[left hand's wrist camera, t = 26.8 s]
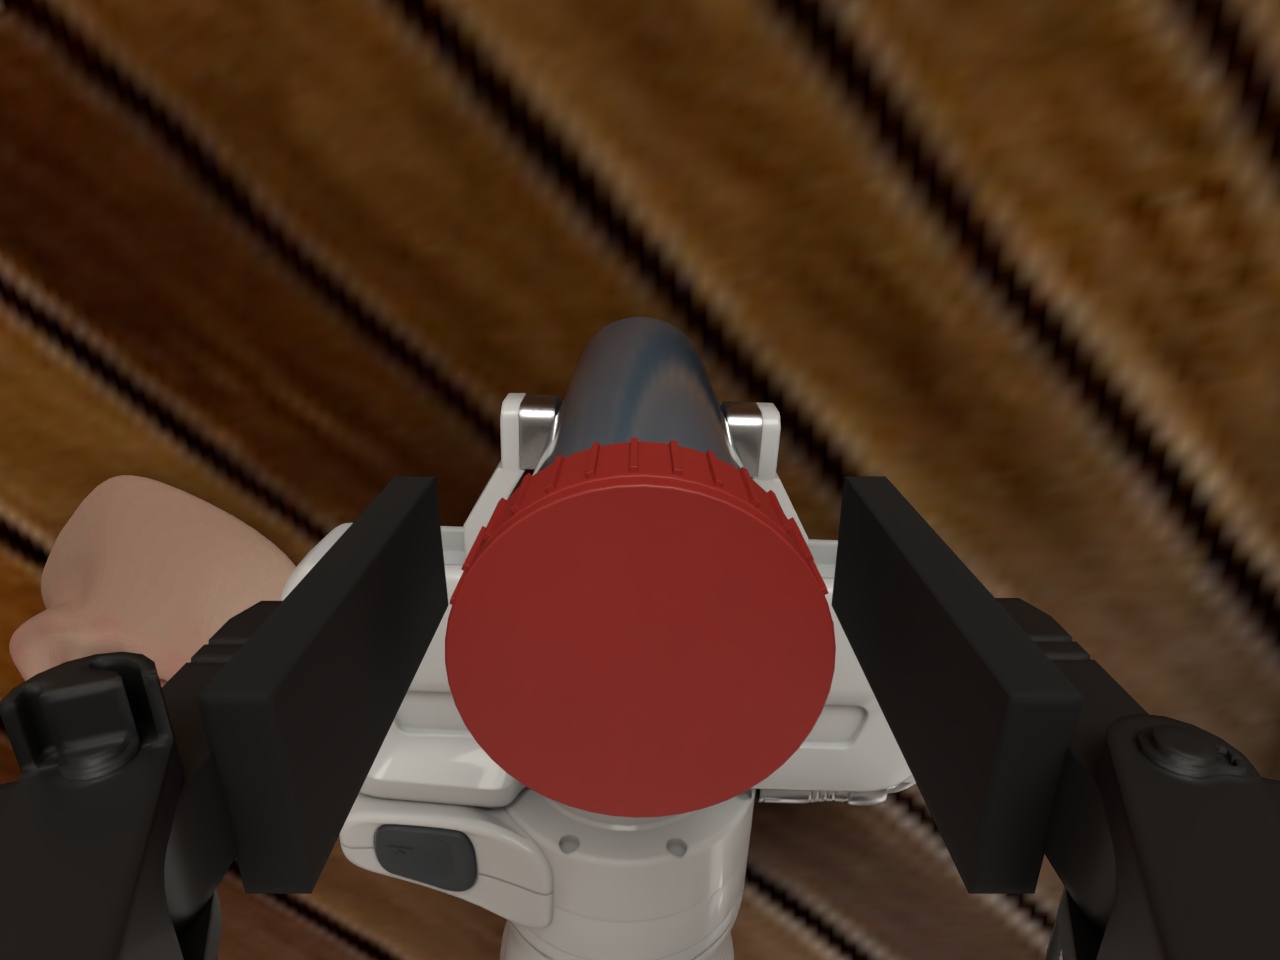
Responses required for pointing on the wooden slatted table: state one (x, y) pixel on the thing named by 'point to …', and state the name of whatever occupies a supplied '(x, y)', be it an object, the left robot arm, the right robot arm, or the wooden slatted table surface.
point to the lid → (640, 632)
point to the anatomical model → (146, 578)
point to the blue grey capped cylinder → (640, 395)
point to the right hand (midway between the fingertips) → (639, 402)
